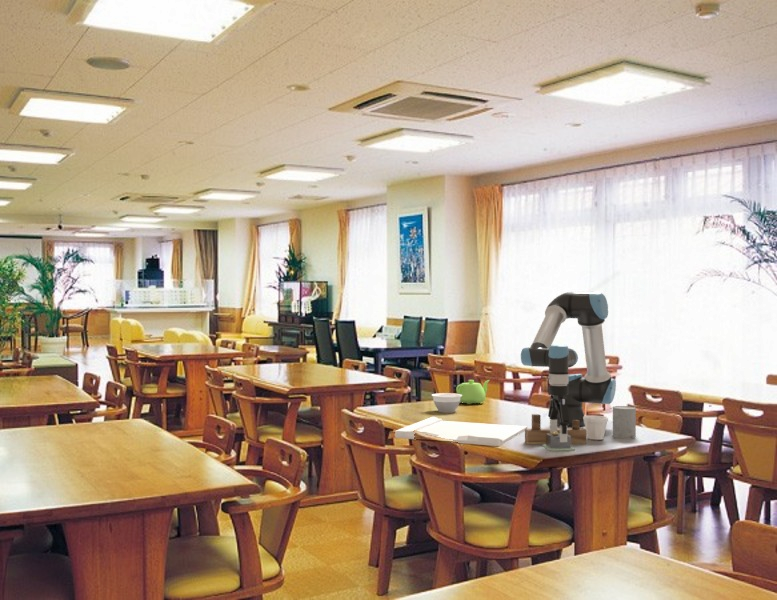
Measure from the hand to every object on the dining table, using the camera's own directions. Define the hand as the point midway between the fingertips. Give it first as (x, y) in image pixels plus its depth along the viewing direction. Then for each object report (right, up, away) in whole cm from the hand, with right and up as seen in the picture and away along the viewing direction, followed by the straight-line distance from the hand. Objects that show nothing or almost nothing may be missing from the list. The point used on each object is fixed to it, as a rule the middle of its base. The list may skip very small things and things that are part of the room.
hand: (558, 439), depth 311 cm
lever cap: (0, -3, 0) cm, 3 cm away
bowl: (-36, -3, +100) cm, 107 cm away
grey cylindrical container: (+34, -4, +26) cm, 43 cm away
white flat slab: (-34, -4, +34) cm, 48 cm away
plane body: (+1, -3, +11) cm, 12 cm away
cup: (+20, -4, +20) cm, 28 cm away
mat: (0, -3, 0) cm, 3 cm away
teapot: (-19, -3, +133) cm, 134 cm away
